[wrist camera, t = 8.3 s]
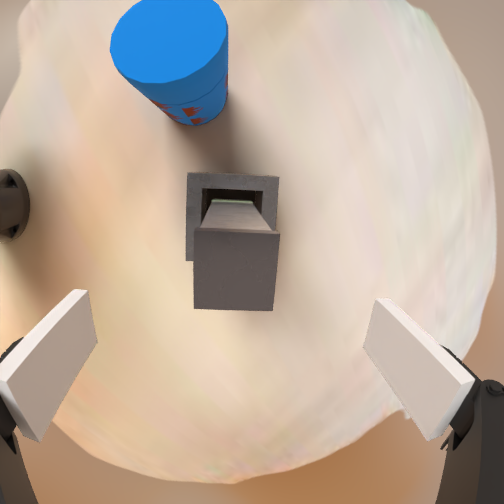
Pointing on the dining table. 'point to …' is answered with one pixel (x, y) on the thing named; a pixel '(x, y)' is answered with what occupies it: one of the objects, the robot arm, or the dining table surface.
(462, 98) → the dining table surface
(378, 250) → the dining table surface
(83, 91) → the dining table surface
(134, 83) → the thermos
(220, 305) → the column
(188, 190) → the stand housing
